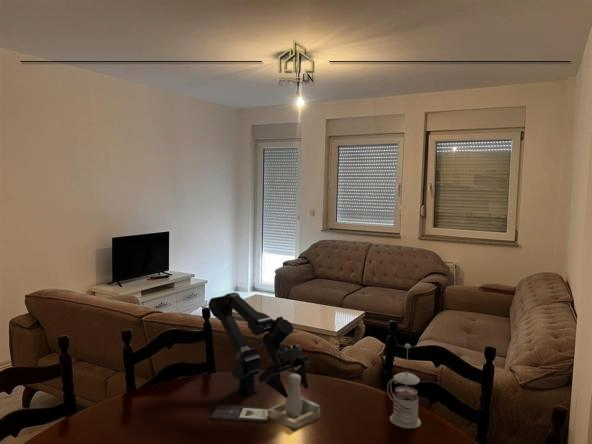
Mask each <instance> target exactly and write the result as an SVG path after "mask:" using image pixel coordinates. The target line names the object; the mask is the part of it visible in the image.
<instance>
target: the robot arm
mask: <svg viewBox="0 0 592 444" xmlns="http://www.w3.org/2000/svg"><path fill="white" fill-rule="evenodd" d="M207 306H208V309H209V310H210V313H211V314H212V315H213V317H214V318H216V319H218V320H219V321H220V323H221V324H222V327H223V329H224V331H225V333H226V335H227V337H228V339H229V342H230V344H231V346H232V348H233V350H234V353H235V361H234V362H235V363H234V364H235V367H234V368H233V369H232V370H231V375H232V377H233V378H235V379H236V388H234V389H233V393H235V394H237V395H239V396H240V397H243V398H246V397H249V396H251V395H253V394H257V393H258V390H257V389H256V388H255V386H256V382H255V375H258V380H259V383H260V384H261V385H265V386H269V387H270V388H272V389H274V390H275V391H276V392H277V393H279V394H280V395H281V396H282V397H284V398H285V399H286V398H287V397H288V394H287V392H288V391H287V390H286V388H285V386H284V384H283V382H282V379H281V374H282V373H285V372H287V371H290V370H292V371H294V372H293V374H298V375H300V376H301V382H300V383H299V384H301V386H302V387H303V388H304V389H305V390H307V389H308V388H309V384H308V378H307V370H306V369H307V367H308V365H309V362H310V359H309V356H308V355H305V354H304V355H301V354H302V353H303V348H302V346H301V345H300V343H297V344H294V345H292V348H291V349H288V347H286V346H283V345H282V343H283V342H285V340H286V339H287V338H288V337H289V336H290V335H291V334H292V333H293V332H294V326H293V324H292V323H291V321H289V320H287V319H285V318H284V317H283V316H277V317H276V319H275V320H274V319H272V317H271V316H269V315H267V314H266V313H263V312H259V311H257V310H256V309H255V308H254V307H252V305H250V304H249V303H248V302H247V301H245V299H243V297H241V296H240V294H239V293H238V292H231V293H226V294H224V295H222V296H221V295H220V296H216V297H211V298H210V300H209V301H208V304H207ZM233 310H234V311H235V312H236V313H237V314H238V315H239V316H241V318H243V320H244V321H245V322H246V323H247V328H248V329H249V330H250V332H251V333H252V335H254V336H260V335H263V336H260V337H258V340H257V346H258V347H259V346H262V347H263V349H264V350H265V353H266V354H267V357H266V361H267V362H269V361H270V362H271V364H272V365H270V366H268V367H266V368H264V369H263V371H261V372H260V370H261V366H262V361H261V356H260V355H259V353H258V350H257V349H256V348H255V347H253V348H250V347H249V345H248V344H247V342H246V339H245V337H244V335H243V332H241V329H240V327H239V325H238V323H237V321H236V319H235V317H234V315H233V312H234V311H233Z"/></svg>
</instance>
